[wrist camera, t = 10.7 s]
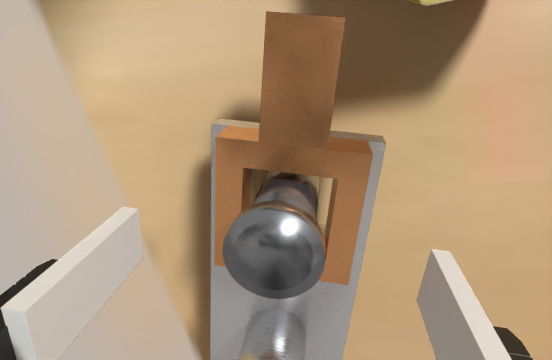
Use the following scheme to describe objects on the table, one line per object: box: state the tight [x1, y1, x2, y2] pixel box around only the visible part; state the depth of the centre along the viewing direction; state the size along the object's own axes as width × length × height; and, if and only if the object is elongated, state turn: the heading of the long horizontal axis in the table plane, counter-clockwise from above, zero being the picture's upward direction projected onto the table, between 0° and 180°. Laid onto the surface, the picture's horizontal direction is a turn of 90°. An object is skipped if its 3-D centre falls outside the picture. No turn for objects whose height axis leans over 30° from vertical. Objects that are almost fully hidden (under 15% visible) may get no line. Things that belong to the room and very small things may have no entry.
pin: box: [223, 171, 325, 299], centre depth 22 cm, size 5×5×14 cm
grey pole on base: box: [210, 11, 386, 360], centre depth 19 cm, size 26×10×24 cm, turn 176°
